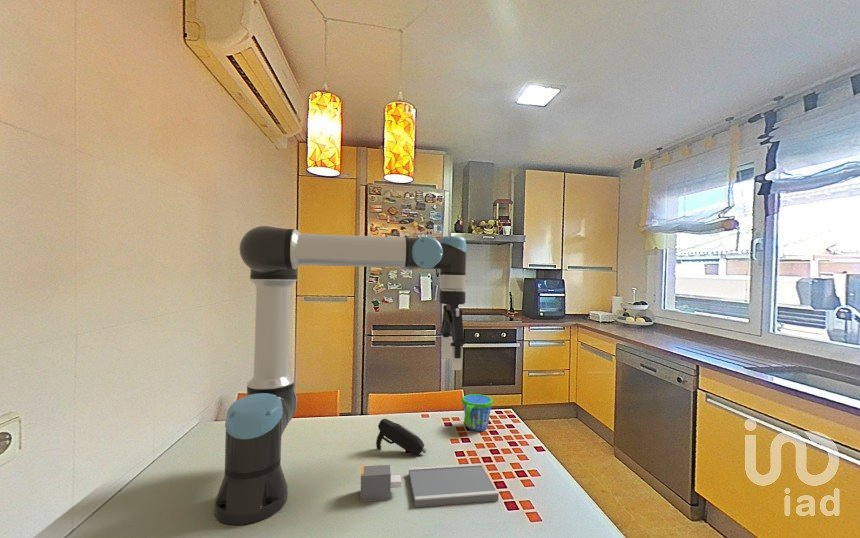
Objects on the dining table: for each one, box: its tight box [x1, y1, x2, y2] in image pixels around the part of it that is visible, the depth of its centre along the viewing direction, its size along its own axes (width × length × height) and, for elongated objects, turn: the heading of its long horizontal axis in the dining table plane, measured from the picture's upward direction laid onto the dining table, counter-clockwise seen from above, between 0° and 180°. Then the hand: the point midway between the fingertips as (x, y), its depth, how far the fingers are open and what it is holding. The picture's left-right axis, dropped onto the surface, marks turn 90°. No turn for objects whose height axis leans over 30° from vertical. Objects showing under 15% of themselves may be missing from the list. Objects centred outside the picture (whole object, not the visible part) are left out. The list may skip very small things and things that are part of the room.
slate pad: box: [408, 463, 499, 508], centre depth 93 cm, size 20×14×2 cm
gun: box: [375, 418, 427, 457], centre depth 112 cm, size 3×16×10 cm, turn 78°
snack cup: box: [461, 393, 494, 432], centre depth 131 cm, size 16×10×10 cm
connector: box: [359, 463, 402, 503], centre depth 90 cm, size 10×4×6 cm, turn 99°
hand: (451, 364), depth 106 cm, fingers open, 13 cm apart
